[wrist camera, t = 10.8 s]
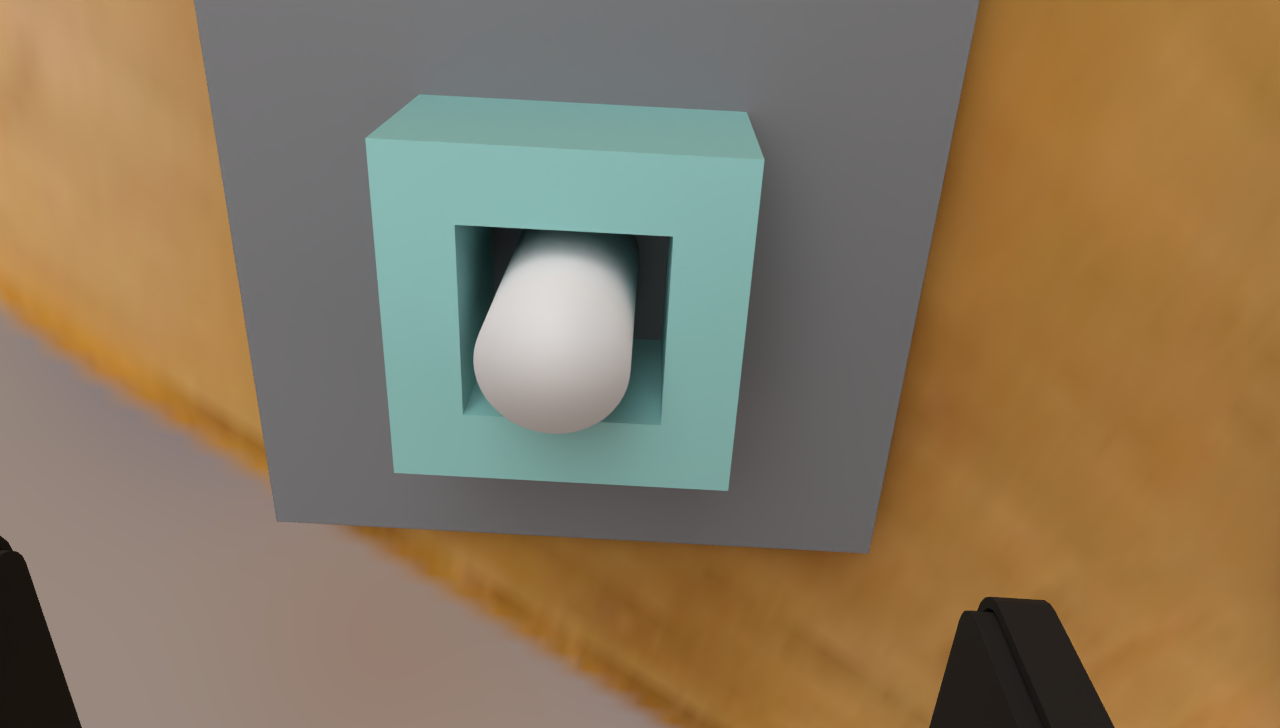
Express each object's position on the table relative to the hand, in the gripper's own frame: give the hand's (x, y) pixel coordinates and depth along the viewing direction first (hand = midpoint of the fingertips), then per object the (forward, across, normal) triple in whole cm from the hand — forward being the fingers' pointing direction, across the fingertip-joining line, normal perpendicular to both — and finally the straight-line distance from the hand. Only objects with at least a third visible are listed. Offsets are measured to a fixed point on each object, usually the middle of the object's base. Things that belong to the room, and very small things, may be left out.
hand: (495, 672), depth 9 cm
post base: (+15, 0, +1) cm, 15 cm away
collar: (+13, 0, +1) cm, 13 cm away
